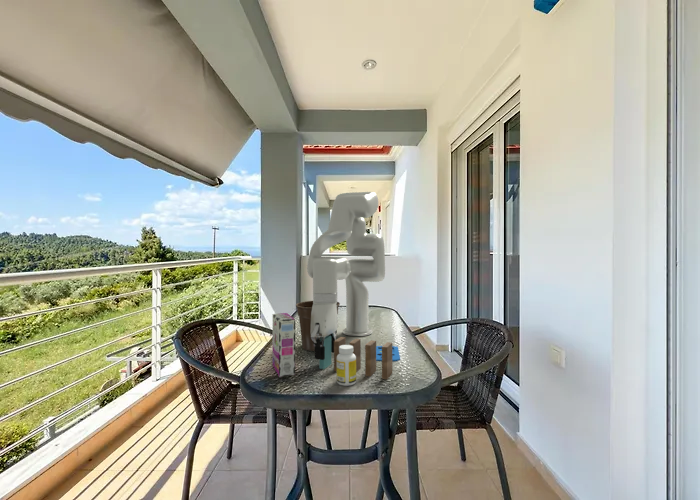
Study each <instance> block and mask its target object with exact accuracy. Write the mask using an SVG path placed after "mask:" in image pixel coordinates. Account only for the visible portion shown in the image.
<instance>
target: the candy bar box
mask: <svg viewBox="0 0 700 500" xmlns="http://www.w3.org/2000/svg"><path fill="white" fill-rule="evenodd" d="M271 344H272V352H271V353H272V355H271V356H272V359H271V360H272V367H273V368H274V371H275V372H276V375H277V376H278V378H286V377H293V376H296V318H294V317H293V316H292V315H290V314H289V313H288V312H283V313H281V312H280V313H273V314H272V343H271Z"/></svg>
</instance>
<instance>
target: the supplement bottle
mask: <svg viewBox="0 0 700 500" xmlns="http://www.w3.org/2000/svg"><path fill="white" fill-rule="evenodd" d="M353 351H354V350H353V346H352V345H349V344H346V345H341V346H339V353H340V354H338V355H337V371H336V383H337V384H338V385H340V386H345V387H347V386H353V385H355V384H356V383H357V372H356V356H355V354H353Z"/></svg>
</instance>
